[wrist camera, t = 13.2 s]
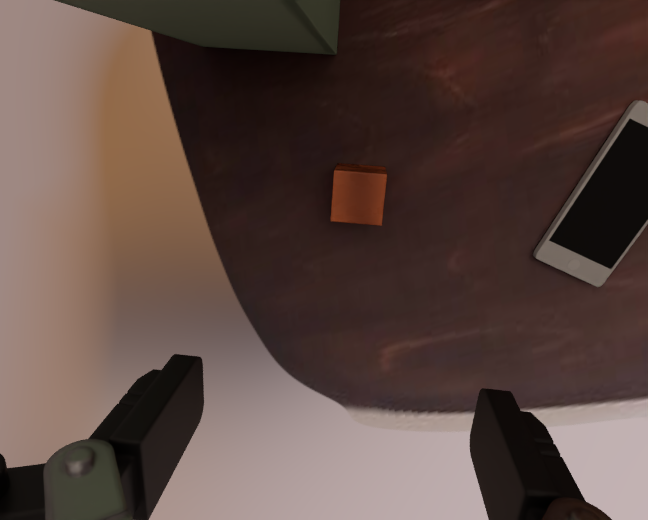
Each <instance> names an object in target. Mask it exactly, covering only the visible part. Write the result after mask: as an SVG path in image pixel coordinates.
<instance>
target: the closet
mask: <svg viewBox="0 0 648 520" xmlns="http://www.w3.org/2000/svg"><path fill="white" fill-rule="evenodd" d="M55 1H58V2H61V3H65V4H68V5H71V6H74V7H77V8H81V9H84V10H87V11H90V12H93V13H97V14H100V15H103V16H107V17H109V18H113V19H116V20H119V21H122V22H126V23H129V24H132V25H135V26H138V27H141V28H145V29H148V30H151V31H154V32H158V33H161V34H164V35H167V36H170V37H174V38H177V39H180V40H183V41H186V42H190V43H193V44H196V45H199V46H202V47H217V48H234V49H250V50H267V51H283V52H300V53H316V54H333V55H336V54H337V42H338V27H339V11H340V0H55Z"/></svg>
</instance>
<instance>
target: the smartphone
mask: <svg viewBox="0 0 648 520" xmlns="http://www.w3.org/2000/svg"><path fill="white" fill-rule="evenodd" d="M647 224H648V103H646V102H643V101H634V102H632V103H631V104H630V106H629V107H628V108H627V110H626V111H625V113H624V114H623V116H622V117H621V119H620V121H619V122H618V124H617V125H616V127H615V128H614V130H613V131H612V133H611V134H610V136H609V137H608V139H607V140H606V142H605V143H604V145H603V146H602V148H601V150H600V151H599V153H598V154H597V156H596V157H595V159H594V160H593V162H592V163H591V165H590V166H589V168H588V169H587V171H586V172H585V174H584V175H583V177H582V179H581V180H580V182H579V183H578V185H577V186H576V188H575V189H574V191H573V192H572V194H571V195H570V197H569V198H568V200H567V201H566V203H565V204H564V206H563V207H562V209H561V211H560V212H559V214H558V215H557V217H556V218H555V220H554V221H553V223H552V224H551V226H550V227H549V229H548V230H547V232H546V233H545V235H544V236H543V238H542V240H541V241H540V243H539V244H538V246H537V247H536V249H535V250H534V253H533V256H534V257H535V258H536V259H538V260H540V261H542V262H544V263H546V264H549V265H551V266H553V267H555V268H557V269H560V270H562V271H564V272H566V273H568V274H570V275H573V276H575V277H577V278H579V279H581V280H583V281H586V282H588V283H590V284H592V285H594V286H596V287H600V286H601V285H603V283H604V282H605V281H606V280H607V278H608V277H609V276H610V274H611V273H612V271H613V270H614V269H615V267H616V266H617V265H618V263H619V262H620V261H621V259H622V258H623V257H624V255H625V254H626V253H627V251H628V250H629V248H630V247H631V246H632V244H633V243H634V242H635V240H636V239H637V238H638V236H639V235H640V234H641V232H642V231H643V230H644V228H645V227H646V225H647Z"/></svg>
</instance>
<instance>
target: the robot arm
mask: <svg viewBox="0 0 648 520" xmlns="http://www.w3.org/2000/svg"><path fill="white" fill-rule="evenodd" d="M203 392H204V391H203V364H202V359H201V357H197V356H188V355H179V354H174V355H173V356H172V357H171V359H170V360H169V361H168V362H167V364H166V365H165V366H164V368H163V369H162V370H152V371H150V372H148V373H147V374H145V375H144V376H142V377H140V378H139V379H137V381H136V382H135V383H134V384H133V385H132V387H131V388H130V389H129V390H128V393H127V394H125V395H124V396H123V398H122V399H121V400H120V402H119V404H117V405H116V406H115V407H114V408H113V410H112V411H111V412H110V413H109V414H108V416H107V417H106V418H105V419H104V420H103V422H102V423H101V424H100V425H99V427H98V428H97V429H96V430H95V431H94V433H93V434H92V435H91V436H90V438H89V439H86V440H80V441H77V442H74V443H71V444H69V445H66V446H65V447H63V448H61V449H60V450H58V451H57V452H55V453H54V454H53V455H52V456H51V457H50V458H49V460H48V461H47V463H45V464H38V465H31V466H23V467H15V468H7V467H6V462H5V459H4V457H3V456H2V455H1V454H0V520H149V518H150V516H151V514H152V512H153V510H154V508H155V506H156V504H157V503H158V501H159V499H160V497H161V495H162V493H163V491H164V489H165V487H166V485H167V483H168V482H169V479H170V478H171V476H172V474H173V472H174V470H175V468H176V466H177V464H178V463H179V461H180V459H181V457H182V455H183V453H184V451H185V449H186V447H187V445H188V444H189V442H190V440H191V438H192V436H193V434H194V432H195V430H196V428H197V426H198V424H199V422H200V419H201V416H202V412H203V406H204V394H203ZM470 453H471V458H472V462H473V465H474V468H475V472H476V476H477V479H478V483H479V486H480V490H481V494H482V497H483V501H484V504H485V508H486V511H487V514H488V518H489V520H612V519H611V518H610V517H608V516H607V515H606V514H605V513H604V512H602V511H601V510H600V509H598V508H597V507H595V506H593V505H591V504H589V503H587V502H586V501H585V500H584V498H583V496H582V494H581V492H580V490H579V488H578V486H577V484H576V483H575V481H574V479H573V477H572V475H571V473H570V471H569V470H568V468H567V466H566V464H565V462H564V460H563V458H562V457H560V453H559V451H558V449H557V447H556V445H555V444H553V440H552V438H551V436H550V434H549V433H548V431H547V429H546V427H545V426H544V425H543V424H542V423H541V422H540V421H539V420H538V419H537V418H536V417H535V416H534V415H533V414H532V413H531V412H523V411H520V409H519V407H518V405H517V403H516V401H515V398H514V396H513V394H512V393H511V392H510V391H502V390H493V389H484V388H482V389H481V390H480V393H479V396H478V401H477V405H476V410H475V415H474V419H473V424H472V428H471V434H470Z"/></svg>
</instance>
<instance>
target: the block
mask: <svg viewBox="0 0 648 520" xmlns="http://www.w3.org/2000/svg"><path fill="white" fill-rule="evenodd" d="M386 181H387V172H386V168H385V167H381V166H368V165H355V164H342V163H338V164H337V166H336V168H335V170H334V178H333V192H332V206H331V221H333V222H345V223H356V224H368V225H379V226H381V225H382V218H383V208H384V199H385V190H386Z"/></svg>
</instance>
